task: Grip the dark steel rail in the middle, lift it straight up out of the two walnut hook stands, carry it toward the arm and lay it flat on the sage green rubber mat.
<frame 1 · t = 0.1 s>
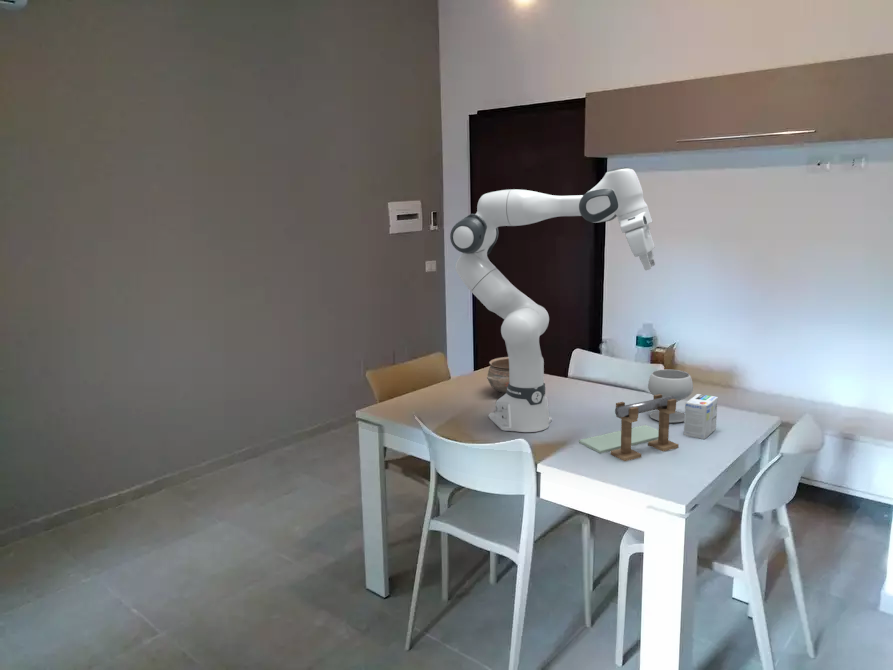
hand: (650, 267, 189), 52 cm above the table, tool tilted 20°, fingers open, 8 cm apart
light bulb box: (700, 433, 204), on the table
hook stands: (644, 451, 190), on the table
chalice: (669, 418, 218), on the table
rail: (645, 411, 188), point 12 cm above the table, touching hook stands
cooking pot: (512, 393, 250), on the table
mat: (624, 439, 200), on the table
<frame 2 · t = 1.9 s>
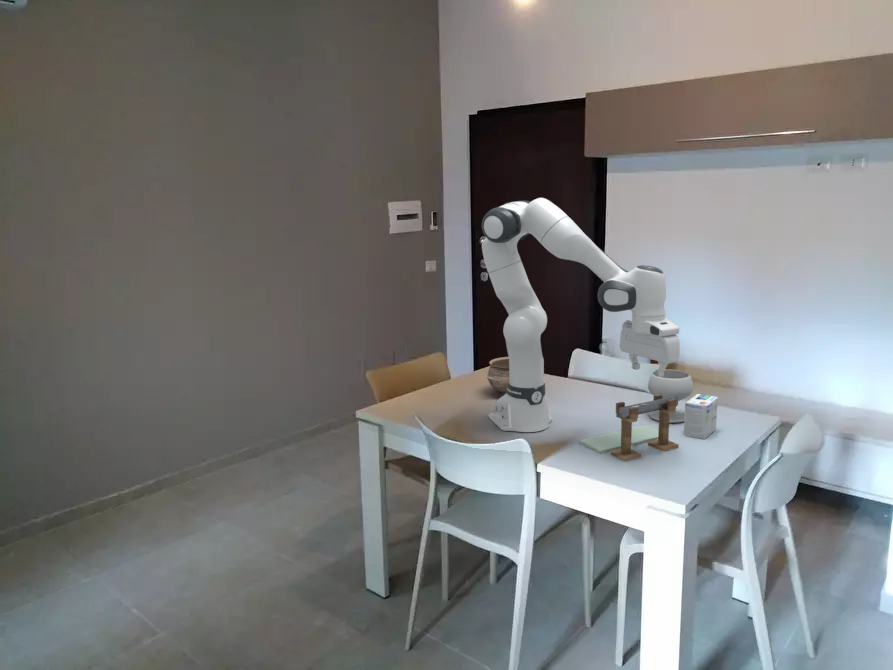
hand: (647, 372, 185), 23 cm above the table, tool pointing down, fingers open, 8 cm apart
rail: (646, 410, 188), point 12 cm above the table, tilted 29°, touching hook stands
everything else where it was.
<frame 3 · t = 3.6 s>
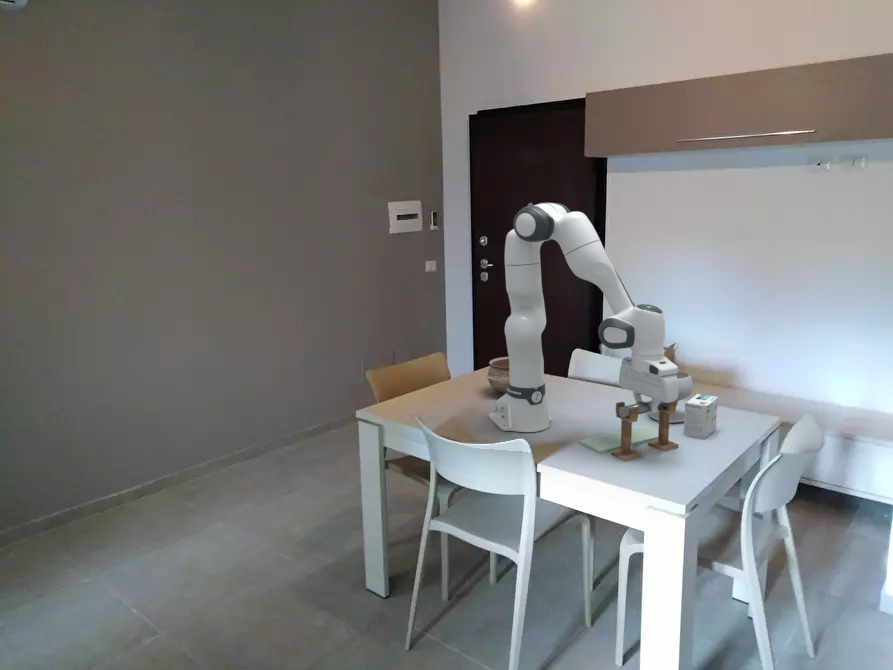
hand: (646, 409, 188), 13 cm above the table, tool pointing down, fingers open, 4 cm apart
rail: (645, 411, 188), point 12 cm above the table, tilted 21°, touching gripper, hook stands
everything else where it was.
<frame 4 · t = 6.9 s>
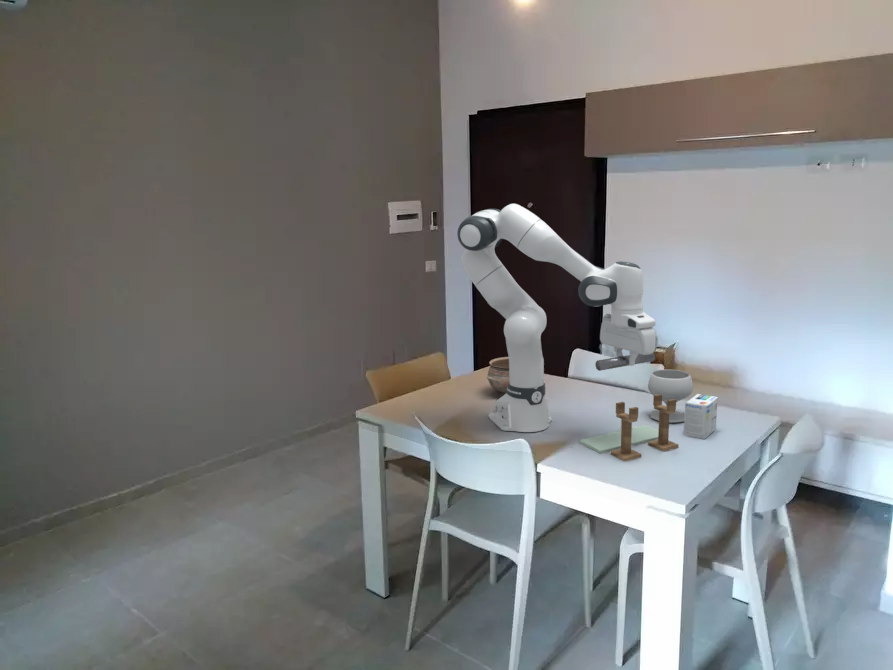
hand: (625, 363, 195), 24 cm above the table, tool pointing down, fingers closed on rail, 3 cm apart
rail: (625, 365, 195), point 23 cm above the table, tilted 5°, touching gripper
everything else where it was.
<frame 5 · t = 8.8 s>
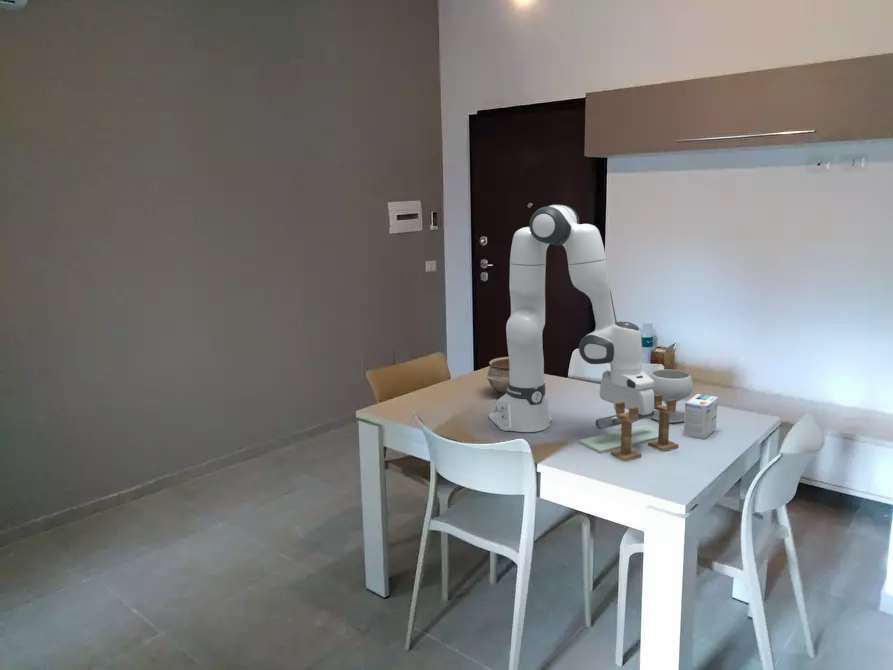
hand: (625, 420, 198), 6 cm above the table, tool pointing down, fingers closed on rail, 3 cm apart
rail: (624, 422, 199), point 5 cm above the table, tilted 5°, touching gripper
everything else where it was.
when the fingers open (3 cm above the table, at t = 10.0 s): rail drops 1 cm, resting on mat.
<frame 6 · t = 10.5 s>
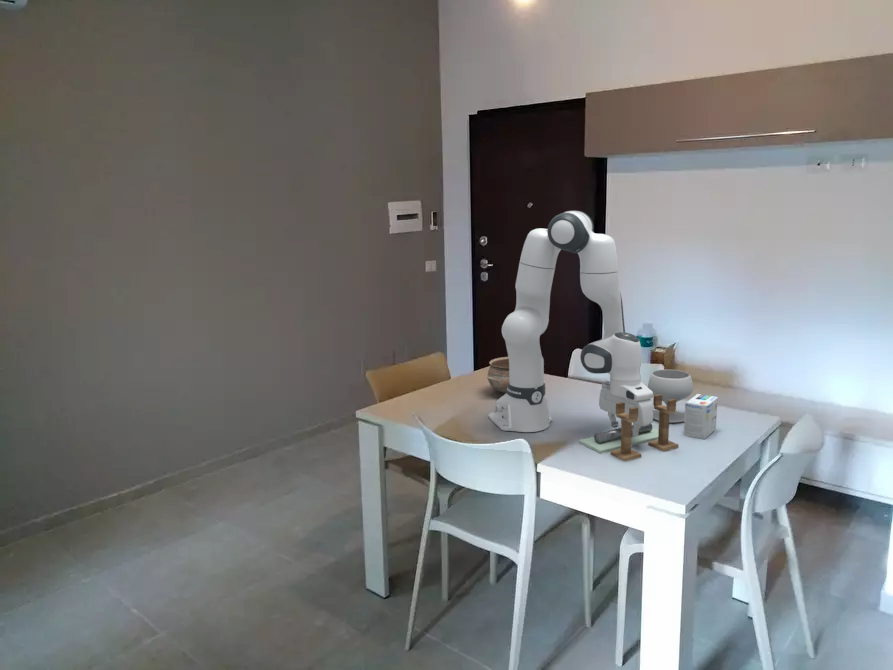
hand: (624, 431, 199), 3 cm above the table, tool pointing down, fingers open, 8 cm apart
rail: (623, 437, 200), point 1 cm above the table, touching mat
everything else where it was.
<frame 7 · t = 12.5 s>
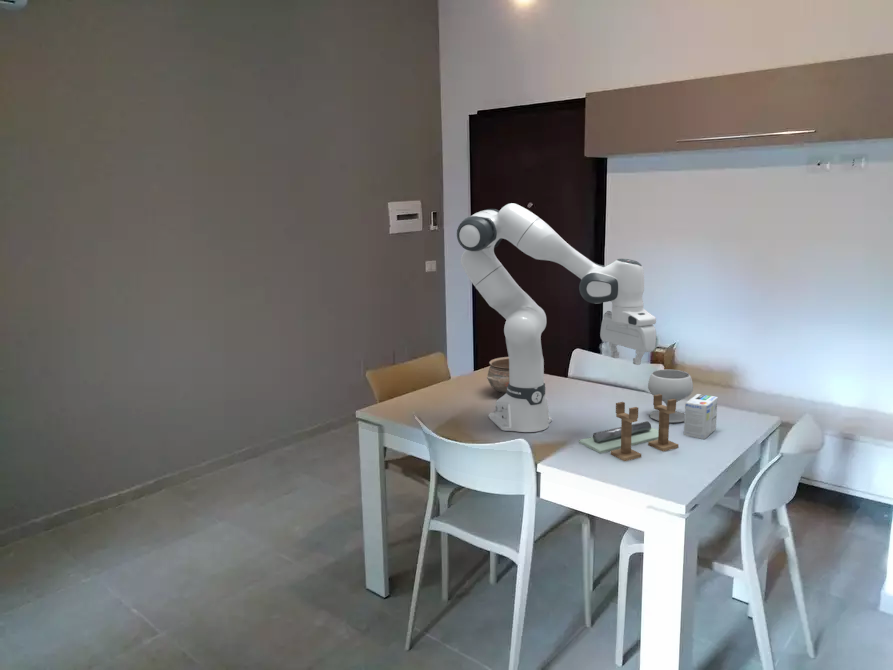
hand: (625, 360, 195), 25 cm above the table, tool pointing down, fingers open, 8 cm apart
rail: (623, 436, 200), point 1 cm above the table, tilted 22°, touching mat
everything else where it was.
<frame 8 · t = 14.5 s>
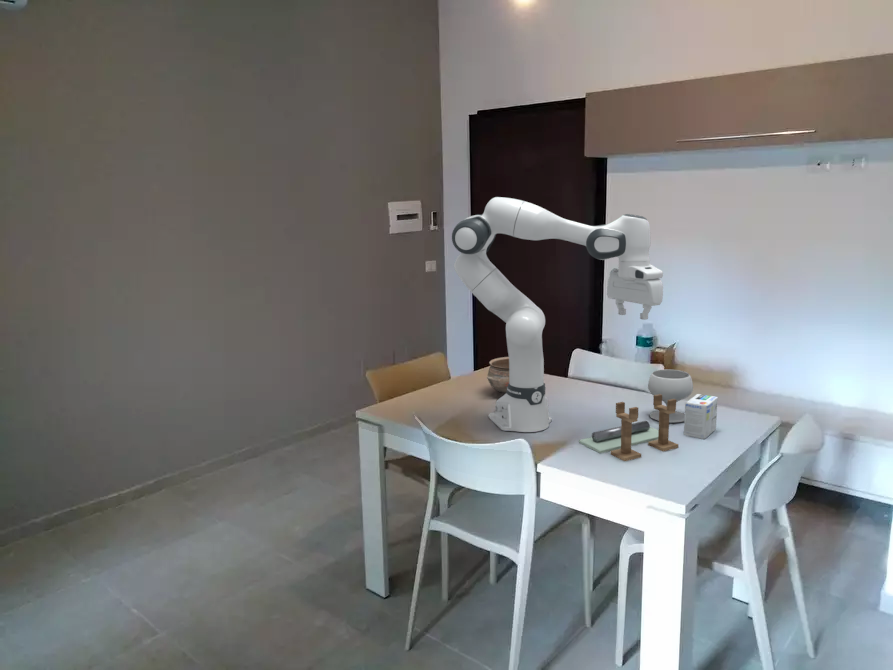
hand: (632, 317, 195), 37 cm above the table, tool pointing down, fingers open, 8 cm apart
rail: (623, 435, 200), point 1 cm above the table, tilted 42°, touching mat
everything else where it was.
at the end: rail inside the target area on the mat (0.3 cm from its centre), point 1.2 cm above the mat's base; rail touching mat; the gripper is holding nothing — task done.
